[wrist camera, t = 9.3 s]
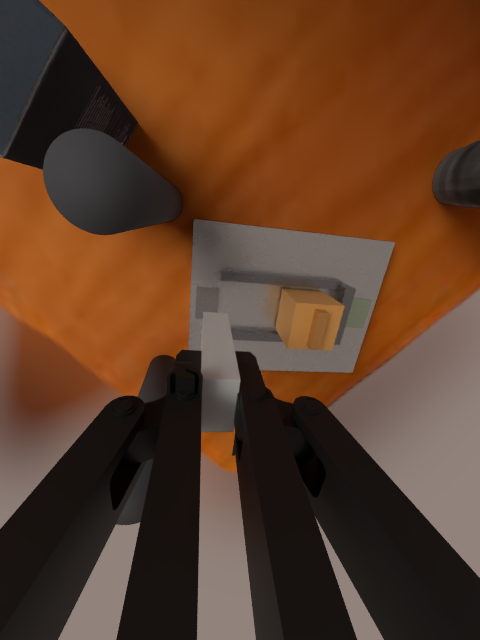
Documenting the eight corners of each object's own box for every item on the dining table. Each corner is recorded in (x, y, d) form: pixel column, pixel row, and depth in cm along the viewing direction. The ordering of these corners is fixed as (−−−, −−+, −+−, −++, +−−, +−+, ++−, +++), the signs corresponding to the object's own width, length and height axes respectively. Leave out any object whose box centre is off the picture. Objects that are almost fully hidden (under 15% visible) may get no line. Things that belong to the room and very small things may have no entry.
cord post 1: (145, 219, 21) (51, 229, 8) (144, 179, 20) (34, 119, 7) (182, 223, 22) (146, 239, 9) (183, 184, 21) (143, 137, 8)
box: (140, 122, 19) (70, 27, 9) (101, 188, 20) (2, 164, 10) (31, 21, 16) (-231, -263, 6) (-7, 103, 17) (-273, -32, 8)
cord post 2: (150, 378, 27) (98, 526, 14) (149, 354, 26) (93, 491, 13) (178, 379, 28) (153, 523, 15) (179, 355, 27) (152, 488, 14)
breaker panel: (188, 360, 27) (186, 377, 24) (194, 218, 22) (192, 219, 19) (345, 365, 30) (360, 381, 27) (384, 240, 24) (407, 244, 22)
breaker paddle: (275, 328, 25) (289, 353, 20) (282, 288, 23) (299, 306, 19) (314, 330, 25) (336, 355, 21) (323, 291, 24) (349, 309, 19)
